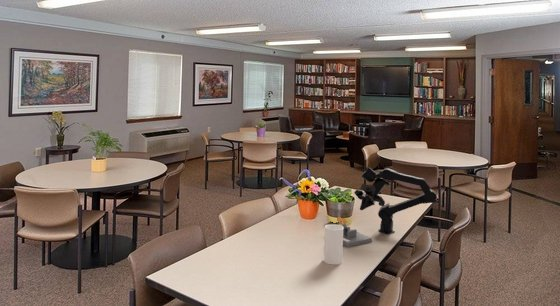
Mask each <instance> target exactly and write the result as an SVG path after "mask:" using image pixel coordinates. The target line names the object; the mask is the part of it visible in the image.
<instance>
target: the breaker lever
mask: <svg viewBox="0 0 560 306" xmlns="http://www.w3.org/2000/svg"><path fill="white" fill-rule="evenodd" d="M337 221H338V222H339V224H340V225H341V226H343V227H344V229H345V231H346V233H347V232H348V231H349V229H348V227H349V226H347V223H348V222H347V219H346V218H345V217H344V218H341V217H338V218H337Z"/></svg>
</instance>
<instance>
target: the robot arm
mask: <svg viewBox="0 0 560 306" xmlns="http://www.w3.org/2000/svg"><path fill="white" fill-rule="evenodd" d="M361 178H362V179H363V180H365V181H366V182H367V183H372V184H366V183H361V185H360V187H359V189H356V190H355V191H354V192H353V193H354V194H355V196H356V197H357V199H359V200H361V203H360V207H359V210H360V211H364V210H366V209H368V208H369V207H372V206H375V205H376V204H375V203H376V202H377V203H378V205H379V206H381V207H380V208H379V209H378V212H377V214H378V218H380V219H381V221H380V226H379V227H380V229H378V232H380V233H384V234H386V235H387V234H388V235H389V234H392V233H395V230H394V229H393V228H394V220H393V219H394V214H396V213H398V212H401V211H405V210H406V209H407V210H408V209H410V208H412V207H416V206H417V205H421V204H423V205H424V204H431V203H434V202H435V201H437V198H438V197H437V193H436V191H435V190H434V189H432V188H431V187H430V185H429V184H428V182H427V181H426V179H425V178H423V177H417V176H414V175H410V174H409V175H408V174H404V173H401V172H398V171H396V170H394V169H391V168H389V167H385V168H384V169H383V170H381V171H377V172H376V171H374V170H373V169H372V168H371V167H368V168H366V170H365V171H364V172H363V173H362V175H361ZM390 181H399V182H403V183H408V184H411V185H414V186H415V185H416V186H419V187H420V189H421V190H422V193H421V194H419V195H417V196H415V197H411V198H410V199H407V200H403V201H401V202H399V203H396V204H392V205H391V204H390V202H388V203H386V201H385V200H384V198H383V197H382V196H381V194H382V193H381V192H382V190H383V189H384V188H385V187H386V188H388V187H389V186H390Z"/></svg>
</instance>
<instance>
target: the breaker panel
mask: <svg viewBox="0 0 560 306" xmlns="http://www.w3.org/2000/svg"><path fill="white" fill-rule="evenodd" d="M347 227H348V229H349V231H348V232H347V233H346V231H345V229H344V227H343V246H345V247H347V248H350V247H356V246H359V245H363V244H369V243H371V242H373V238H372V237H371V236H368V235H366V234H363V233H361V232H358V230H357V229H351V227H350V226H347Z"/></svg>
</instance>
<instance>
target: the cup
mask: <svg viewBox="0 0 560 306" xmlns="http://www.w3.org/2000/svg"><path fill="white" fill-rule="evenodd" d="M323 242H324V244H323V262H324V263H325V264H328V265H332V264H333V265H334V266H336V265H341V264H342V263H343V246H344V245H343V226H342V224H338V223H331V224H325V226H324V241H323Z"/></svg>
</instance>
